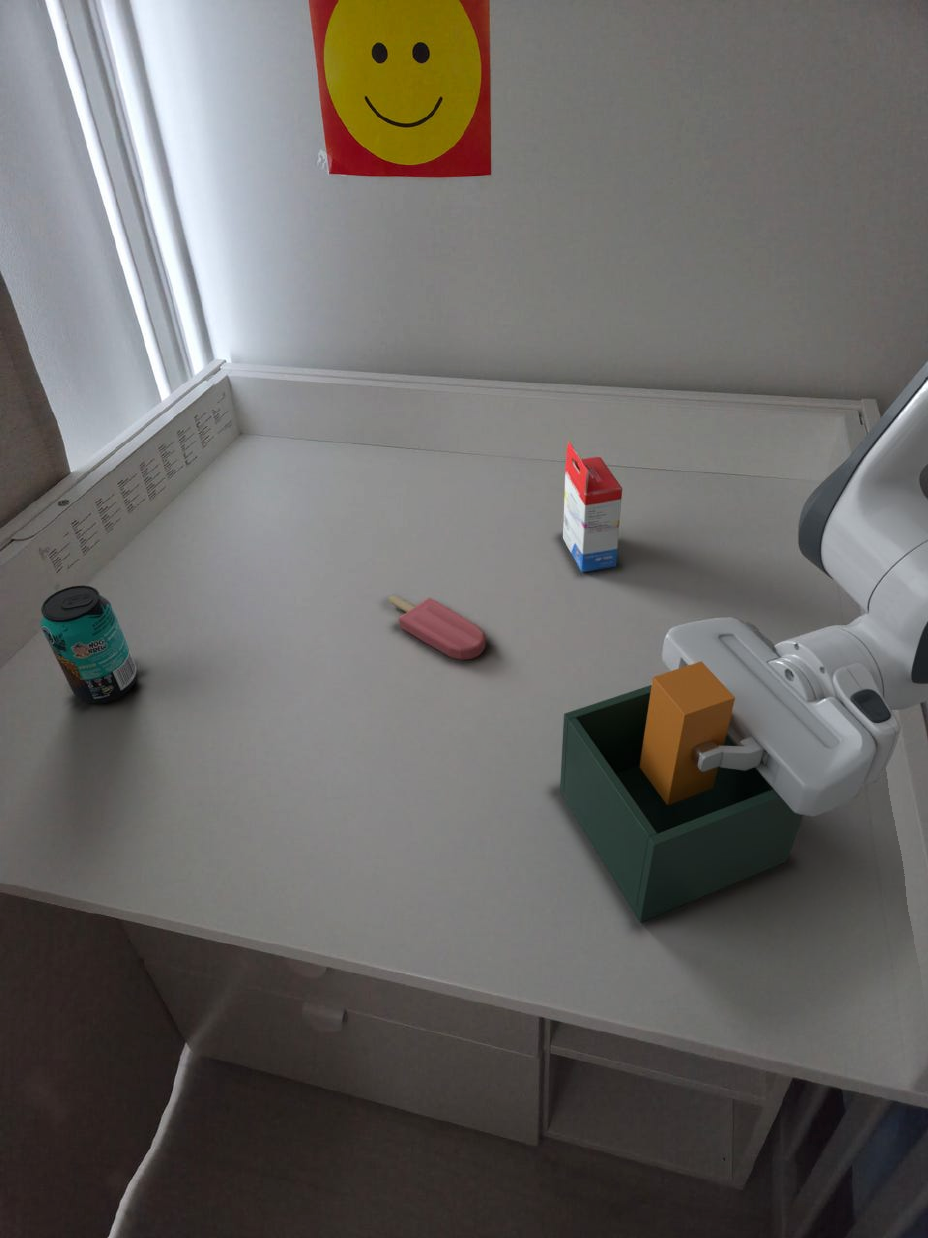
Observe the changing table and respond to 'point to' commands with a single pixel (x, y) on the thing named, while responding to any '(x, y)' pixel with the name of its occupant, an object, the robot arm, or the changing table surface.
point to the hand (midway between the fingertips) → (675, 734)
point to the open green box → (665, 813)
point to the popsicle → (441, 628)
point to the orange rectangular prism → (683, 729)
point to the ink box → (591, 512)
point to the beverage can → (88, 644)
